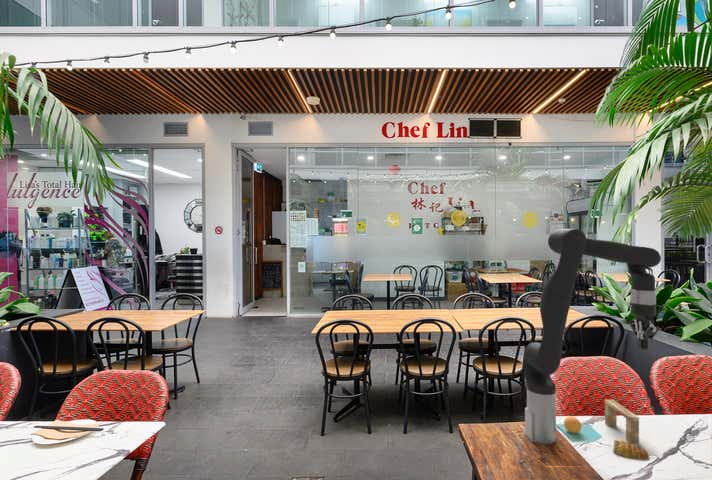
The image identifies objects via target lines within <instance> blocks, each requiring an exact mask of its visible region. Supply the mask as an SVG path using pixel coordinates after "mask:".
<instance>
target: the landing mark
mask: <svg viewBox="0 0 712 480" xmlns="http://www.w3.org/2000/svg"><path fill="white" fill-rule="evenodd" d="M556 427H558V429H560V431H562V433H564V435H565V436H566V437H567V438H568V439H569V440H570V441H571V442H597V441H598V440H601V438H603V436H602V435H601V434H600V433H599V432H598V431H597V430H596V429H595V428H594V427H592V425H590V424H583V423H582V424H581V430H580V432H578V433H575V434H574V433H570V432H569V431H567V430H566V428H565V426H564V423H556Z"/></svg>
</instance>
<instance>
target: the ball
mask: <svg viewBox="0 0 712 480" xmlns="http://www.w3.org/2000/svg"><path fill="white" fill-rule="evenodd" d="M563 424H564V426H565V428H566V430H567V431H569V432H570V433H574V434H575V433H578V432H580V430H581V421H580V420H579V419H578V418H577V417H574V416H568V417H566V418H565V419H564V420H563Z"/></svg>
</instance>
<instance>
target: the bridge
mask: <svg viewBox="0 0 712 480" xmlns="http://www.w3.org/2000/svg"><path fill="white" fill-rule="evenodd" d="M617 413H619V414H620V415H621V416H622V417H623V418H625V440H626V442H629V443H630V444H639V443H640V417H639V416H637V415H636V414H634V413H633V412H632V411H630V410H629V409H627V408H626V407H624V406H623V405H622V404H621V403H619V402H617V401H616V400H614V399H604V424H605V425H606V426H607V427H617V425H618V424H617V423H618V422H617V421H618V420H617V419H618V418H617V416H618V415H617Z"/></svg>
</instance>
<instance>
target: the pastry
mask: <svg viewBox="0 0 712 480" xmlns="http://www.w3.org/2000/svg"><path fill="white" fill-rule="evenodd" d="M612 453H613V454H615V455H618V456H621V457H624V458H630V459H637V460H638V459H639V460H648V459H649V458H650V457H649V452H648V451H646V450H645V449H643V448H641V447H640V446H637V445H635V444H634V443H629V442H628V441H624V440H617V439H614V440H613V450H612Z"/></svg>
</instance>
